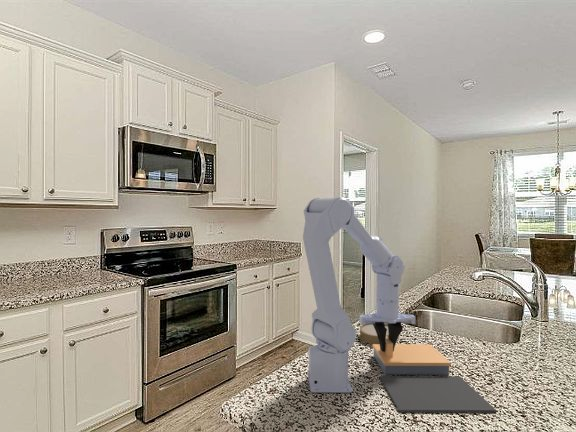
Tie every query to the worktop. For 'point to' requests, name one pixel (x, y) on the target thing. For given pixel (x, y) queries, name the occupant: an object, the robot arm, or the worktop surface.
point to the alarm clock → (370, 333)
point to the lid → (410, 355)
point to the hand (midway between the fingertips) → (386, 350)
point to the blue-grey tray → (412, 369)
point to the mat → (434, 394)
